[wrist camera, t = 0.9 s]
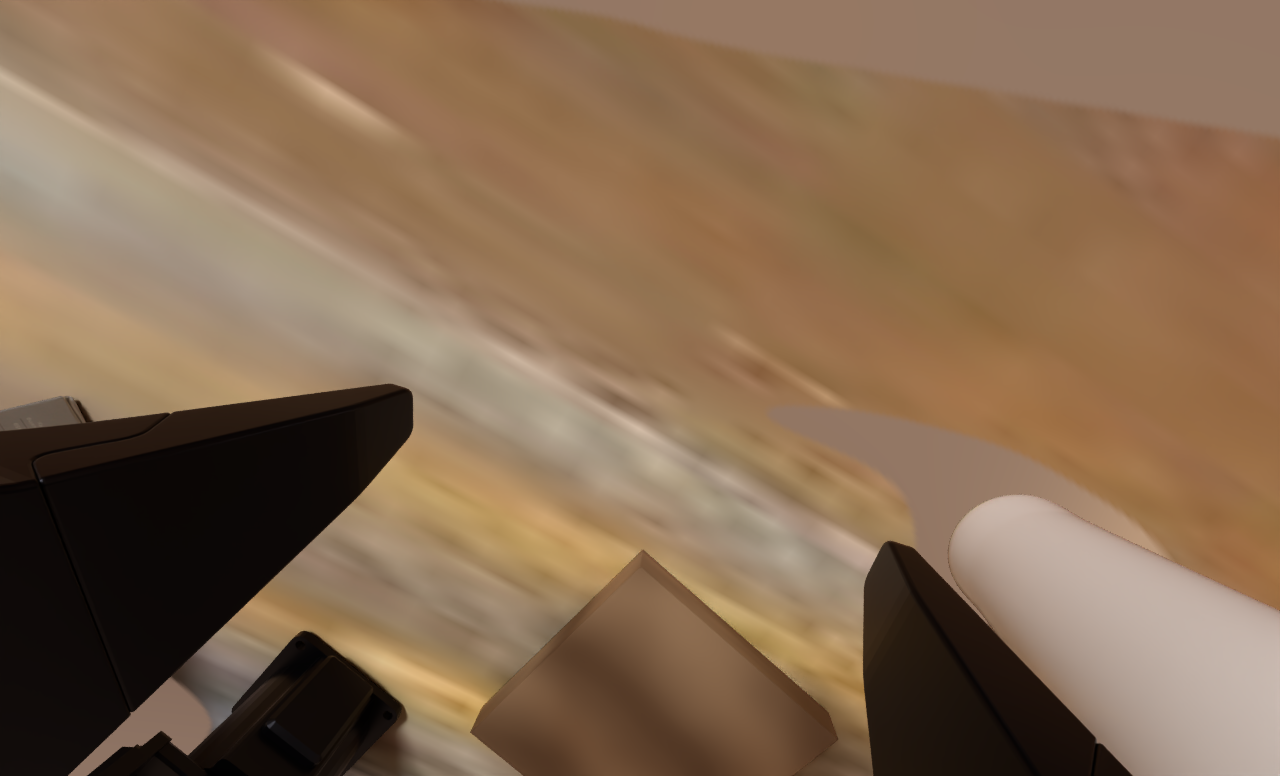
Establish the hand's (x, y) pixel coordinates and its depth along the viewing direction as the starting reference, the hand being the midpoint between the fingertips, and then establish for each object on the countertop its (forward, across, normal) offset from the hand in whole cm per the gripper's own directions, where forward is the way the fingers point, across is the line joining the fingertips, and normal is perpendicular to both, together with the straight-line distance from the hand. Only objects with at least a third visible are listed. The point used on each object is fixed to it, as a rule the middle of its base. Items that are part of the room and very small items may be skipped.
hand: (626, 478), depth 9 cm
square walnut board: (+9, -2, +19) cm, 21 cm away
